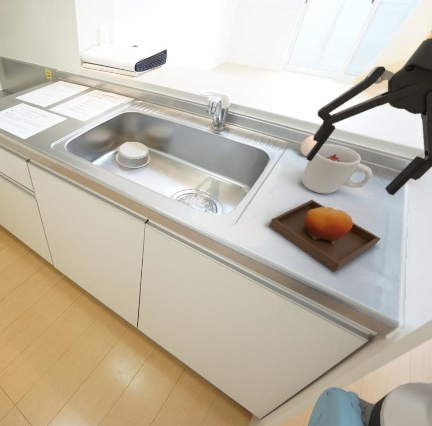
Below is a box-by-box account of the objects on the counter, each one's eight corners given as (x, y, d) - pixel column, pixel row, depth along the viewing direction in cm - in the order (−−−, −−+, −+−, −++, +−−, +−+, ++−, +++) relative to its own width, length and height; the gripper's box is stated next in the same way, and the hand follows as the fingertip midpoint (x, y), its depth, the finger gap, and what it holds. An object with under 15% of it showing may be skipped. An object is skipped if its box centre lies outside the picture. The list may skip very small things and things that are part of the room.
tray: (374, 246, 60) (381, 238, 58) (333, 272, 55) (339, 264, 54) (307, 206, 70) (311, 199, 69) (268, 226, 65) (272, 218, 64)
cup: (359, 189, 75) (382, 155, 68) (353, 209, 69) (378, 173, 62) (302, 172, 82) (318, 139, 75) (292, 188, 76) (308, 154, 69)
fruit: (308, 244, 58) (318, 207, 57) (294, 235, 66) (303, 202, 64) (353, 252, 56) (365, 213, 55) (334, 242, 64) (344, 208, 62)
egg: (294, 151, 91) (302, 132, 86) (309, 151, 91) (318, 132, 86) (301, 159, 87) (311, 139, 83) (317, 159, 87) (327, 139, 83)
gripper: (560, 72, 38) (420, 199, 50) (358, 21, 45) (280, 142, 58) (604, 74, 32) (434, 216, 44) (364, 16, 40) (277, 150, 52)
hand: (347, 174), depth 51 cm, fingers open, 13 cm apart
